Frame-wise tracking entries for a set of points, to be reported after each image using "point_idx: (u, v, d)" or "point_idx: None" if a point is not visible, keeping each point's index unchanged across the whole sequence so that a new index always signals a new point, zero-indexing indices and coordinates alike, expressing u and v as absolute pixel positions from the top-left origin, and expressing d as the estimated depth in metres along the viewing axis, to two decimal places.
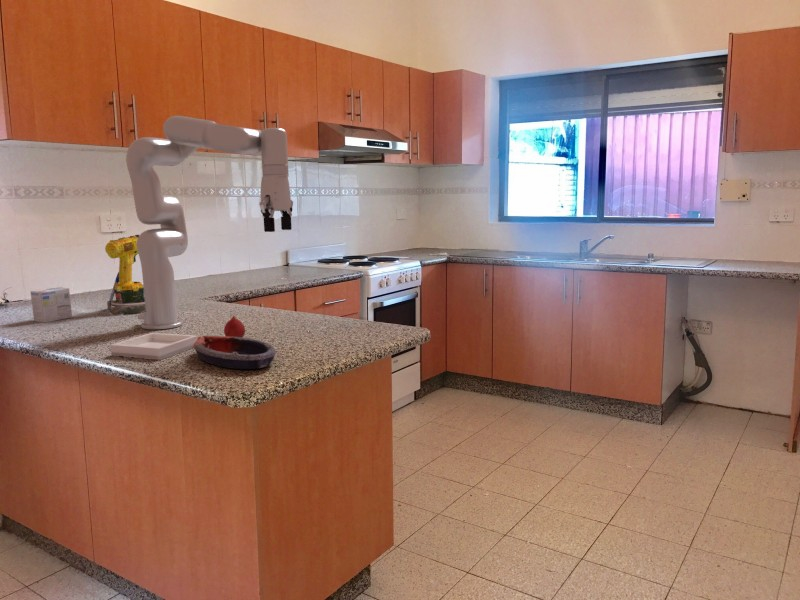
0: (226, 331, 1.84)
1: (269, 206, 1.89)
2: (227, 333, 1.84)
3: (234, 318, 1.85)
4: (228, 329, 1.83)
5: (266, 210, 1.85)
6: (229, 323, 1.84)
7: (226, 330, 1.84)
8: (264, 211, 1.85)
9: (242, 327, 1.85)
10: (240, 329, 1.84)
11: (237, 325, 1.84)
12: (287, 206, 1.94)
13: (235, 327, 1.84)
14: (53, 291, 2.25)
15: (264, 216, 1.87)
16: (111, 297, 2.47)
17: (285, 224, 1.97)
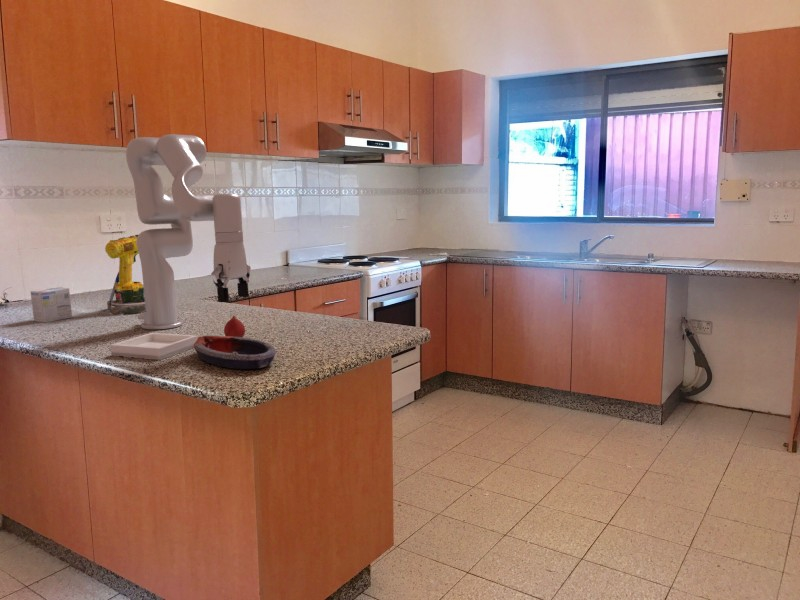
0: (226, 331, 1.84)
1: (223, 275, 1.81)
2: (227, 333, 1.84)
3: (234, 318, 1.85)
4: (228, 329, 1.83)
5: (219, 280, 1.76)
6: (229, 323, 1.84)
7: (226, 330, 1.84)
8: (216, 281, 1.76)
9: (242, 327, 1.85)
10: (240, 329, 1.84)
11: (237, 325, 1.84)
12: (243, 273, 1.85)
13: (235, 327, 1.84)
14: (53, 291, 2.25)
15: (217, 286, 1.78)
16: (111, 297, 2.47)
17: (242, 291, 1.88)
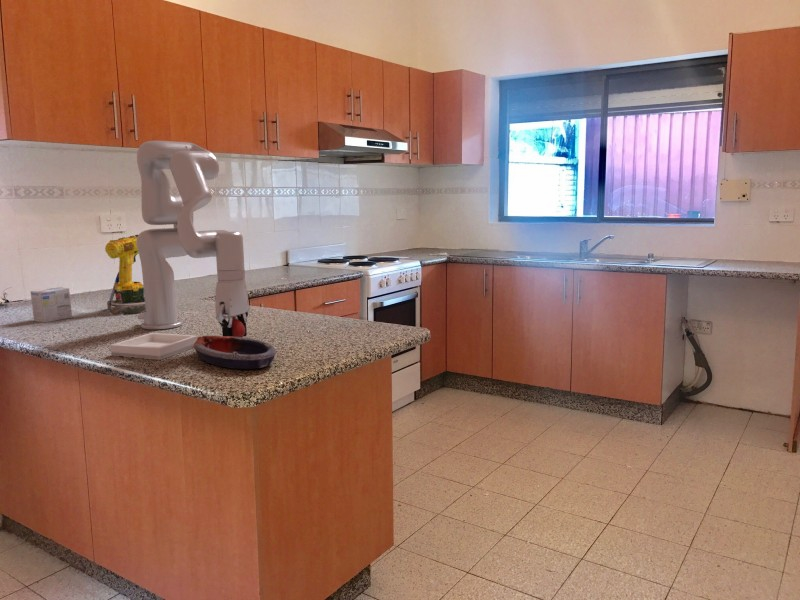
0: None
1: None
2: None
3: (234, 318, 1.85)
4: None
5: (224, 321, 1.80)
6: None
7: None
8: (222, 322, 1.80)
9: (242, 327, 1.85)
10: (240, 329, 1.84)
11: (237, 325, 1.84)
12: (244, 309, 1.87)
13: (235, 327, 1.84)
14: (53, 291, 2.25)
15: (222, 326, 1.82)
16: (111, 297, 2.47)
17: None
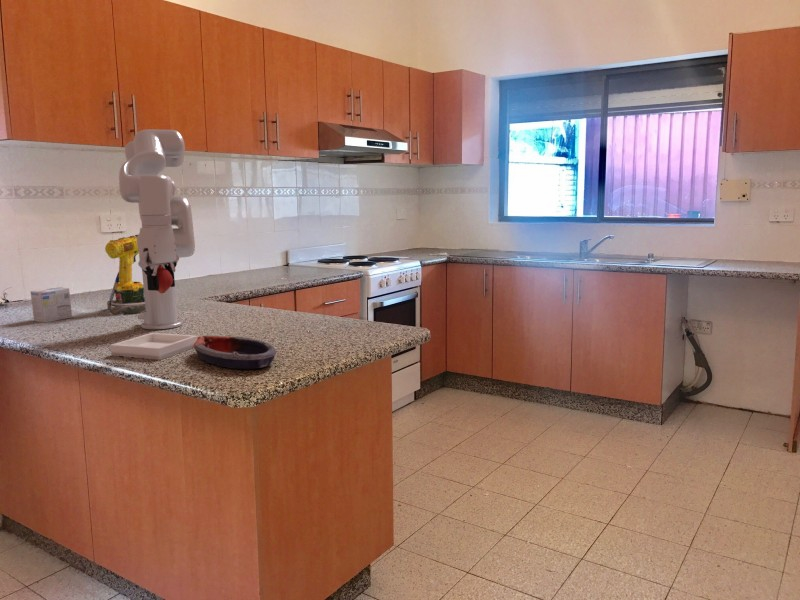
0: None
1: (151, 260, 1.74)
2: None
3: (160, 267, 1.76)
4: None
5: (148, 268, 1.71)
6: None
7: None
8: (146, 270, 1.71)
9: (169, 276, 1.76)
10: (167, 278, 1.75)
11: (163, 274, 1.75)
12: (171, 258, 1.78)
13: (161, 276, 1.75)
14: (53, 291, 2.25)
15: (146, 274, 1.73)
16: (111, 297, 2.47)
17: None
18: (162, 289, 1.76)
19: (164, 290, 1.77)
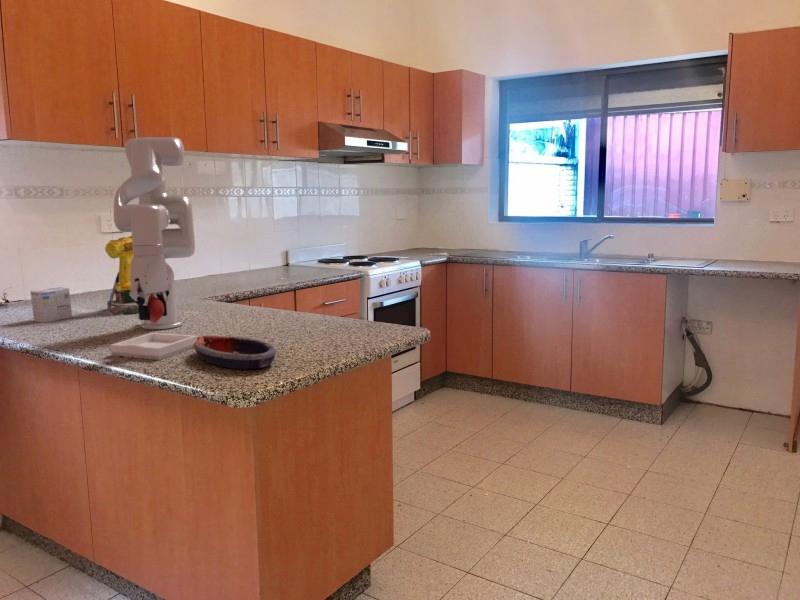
0: None
1: (142, 290, 1.74)
2: None
3: (152, 296, 1.76)
4: None
5: (139, 298, 1.71)
6: None
7: None
8: (137, 300, 1.71)
9: (160, 306, 1.76)
10: (158, 308, 1.75)
11: (155, 304, 1.75)
12: (163, 287, 1.78)
13: (152, 306, 1.75)
14: (53, 291, 2.25)
15: (138, 304, 1.73)
16: (111, 297, 2.47)
17: None
18: (153, 319, 1.76)
19: (156, 319, 1.77)
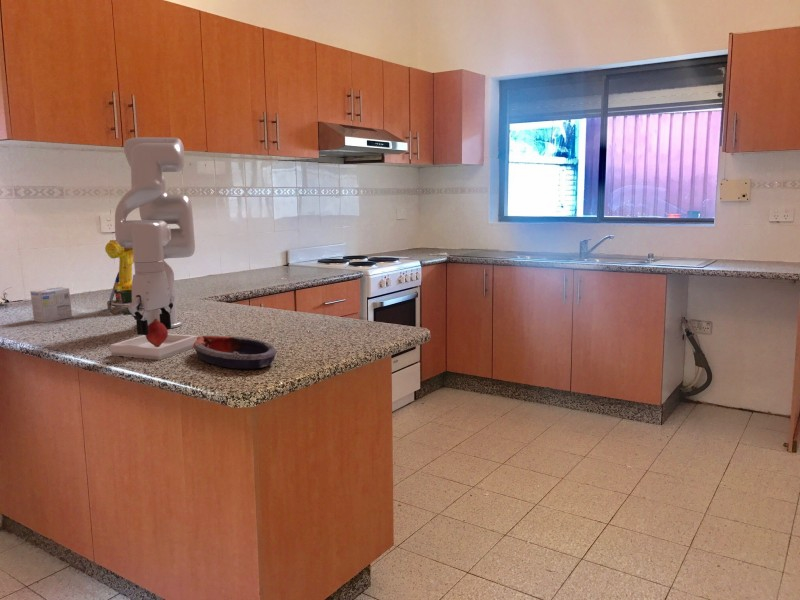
0: None
1: (142, 306, 1.75)
2: (148, 336, 1.77)
3: (156, 320, 1.78)
4: (149, 331, 1.76)
5: (137, 313, 1.71)
6: (150, 326, 1.77)
7: None
8: (134, 314, 1.71)
9: (164, 330, 1.78)
10: (162, 332, 1.77)
11: (158, 328, 1.77)
12: (164, 303, 1.79)
13: (156, 330, 1.76)
14: (53, 291, 2.25)
15: (136, 319, 1.73)
16: (111, 297, 2.47)
17: (164, 322, 1.82)
18: (156, 343, 1.78)
19: (159, 344, 1.79)
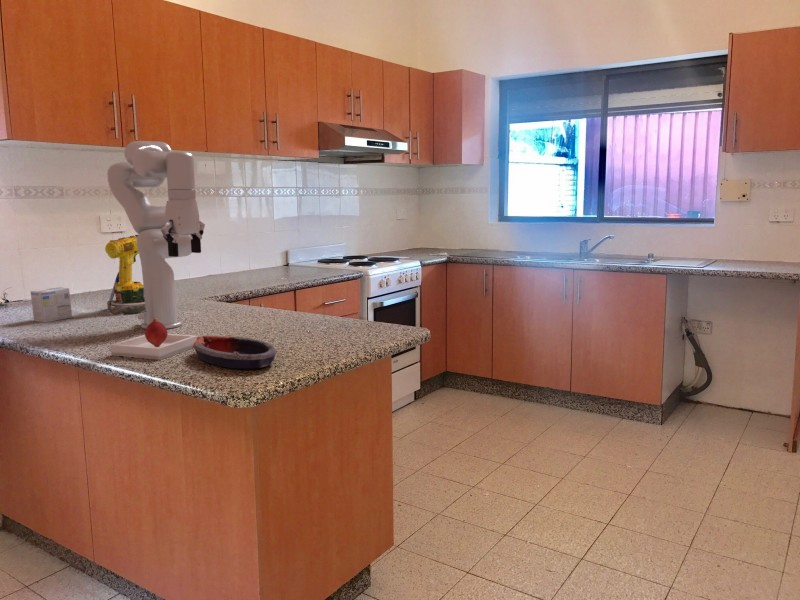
0: (146, 334, 1.77)
1: (174, 230, 1.88)
2: (147, 336, 1.77)
3: (155, 321, 1.78)
4: (149, 332, 1.76)
5: (168, 235, 1.84)
6: (150, 326, 1.77)
7: (146, 333, 1.77)
8: (166, 236, 1.84)
9: (164, 330, 1.78)
10: (161, 332, 1.77)
11: (158, 328, 1.77)
12: (195, 230, 1.92)
13: (155, 330, 1.76)
14: (53, 291, 2.25)
15: (167, 241, 1.86)
16: (111, 297, 2.47)
17: (195, 247, 1.96)
18: (156, 343, 1.78)
19: (159, 344, 1.79)
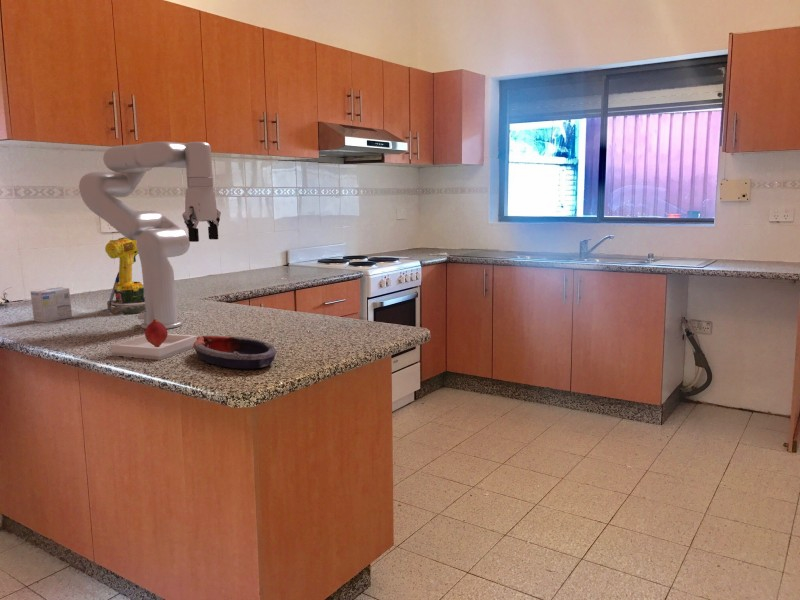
0: (146, 334, 1.77)
1: (194, 217, 1.96)
2: (147, 336, 1.77)
3: (155, 321, 1.78)
4: (149, 332, 1.76)
5: (189, 221, 1.92)
6: (150, 326, 1.77)
7: (146, 333, 1.77)
8: (187, 222, 1.92)
9: (164, 330, 1.78)
10: (161, 332, 1.77)
11: (158, 328, 1.77)
12: (213, 216, 2.01)
13: (155, 330, 1.76)
14: (53, 291, 2.25)
15: (188, 227, 1.94)
16: (111, 297, 2.47)
17: (212, 234, 2.04)
18: (156, 343, 1.78)
19: (159, 344, 1.79)
